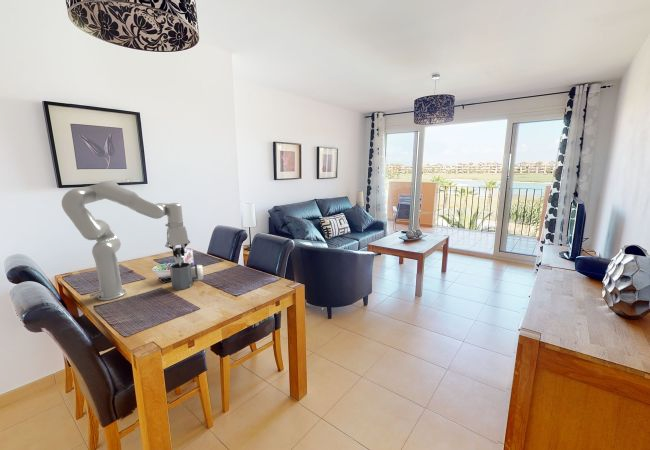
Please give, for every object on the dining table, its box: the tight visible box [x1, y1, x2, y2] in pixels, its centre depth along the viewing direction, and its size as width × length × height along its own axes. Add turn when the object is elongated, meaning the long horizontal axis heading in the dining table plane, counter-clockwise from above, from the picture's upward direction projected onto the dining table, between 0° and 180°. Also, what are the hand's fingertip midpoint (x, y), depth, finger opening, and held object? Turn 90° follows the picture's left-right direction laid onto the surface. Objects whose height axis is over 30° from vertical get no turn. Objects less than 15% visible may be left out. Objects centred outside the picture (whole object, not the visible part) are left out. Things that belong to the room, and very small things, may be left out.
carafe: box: [169, 263, 198, 291], centre depth 169 cm, size 14×10×13 cm
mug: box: [191, 264, 204, 282], centre depth 181 cm, size 7×9×8 cm
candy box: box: [173, 247, 195, 265], centre depth 186 cm, size 14×6×16 cm, turn 179°
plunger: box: [173, 247, 184, 268], centre depth 166 cm, size 8×8×20 cm
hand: (179, 255), depth 165 cm, fingers closed on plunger, 3 cm apart
